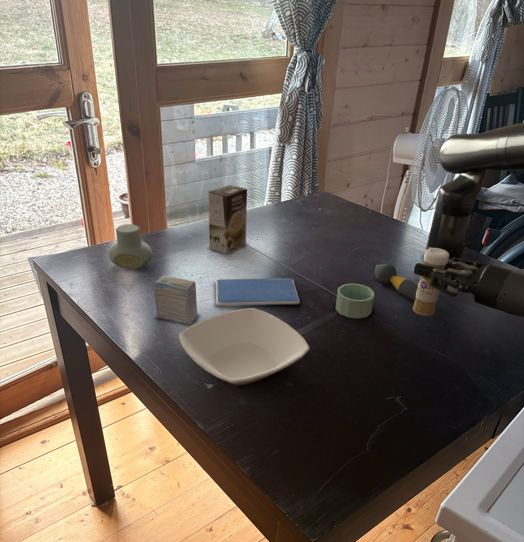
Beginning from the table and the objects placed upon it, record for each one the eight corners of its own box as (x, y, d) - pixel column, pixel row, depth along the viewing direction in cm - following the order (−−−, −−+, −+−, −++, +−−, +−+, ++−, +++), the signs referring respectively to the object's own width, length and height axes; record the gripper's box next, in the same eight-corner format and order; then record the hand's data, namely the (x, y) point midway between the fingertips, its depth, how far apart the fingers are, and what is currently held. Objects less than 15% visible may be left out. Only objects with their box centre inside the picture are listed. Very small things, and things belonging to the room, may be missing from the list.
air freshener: (155, 258, 138) (152, 222, 132) (150, 272, 131) (147, 235, 125) (114, 257, 137) (109, 221, 132) (107, 271, 131) (101, 234, 125)
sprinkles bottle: (408, 311, 107) (421, 251, 100) (418, 304, 110) (431, 245, 103) (429, 319, 105) (443, 258, 97) (438, 311, 108) (453, 251, 100)
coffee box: (226, 254, 141) (226, 197, 132) (208, 248, 144) (207, 191, 135) (246, 244, 148) (247, 188, 138) (229, 238, 150) (229, 183, 141)
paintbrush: (440, 304, 123) (445, 285, 120) (427, 310, 120) (431, 291, 117) (377, 273, 135) (380, 256, 132) (364, 278, 133) (367, 260, 130)
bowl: (167, 354, 102) (165, 332, 99) (254, 322, 113) (255, 301, 110) (228, 414, 88) (228, 391, 85) (321, 371, 99) (324, 348, 96)
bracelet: (347, 297, 124) (350, 280, 121) (377, 308, 120) (380, 291, 117) (328, 309, 119) (330, 292, 116) (359, 322, 115) (362, 304, 112)
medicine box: (197, 315, 114) (196, 281, 109) (189, 325, 111) (187, 290, 106) (166, 309, 116) (163, 274, 111) (156, 318, 113) (153, 283, 108)
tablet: (216, 308, 117) (216, 303, 117) (215, 282, 128) (215, 277, 127) (300, 306, 119) (300, 301, 118) (292, 281, 129) (292, 277, 129)
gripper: (525, 260, 97) (439, 236, 106) (499, 286, 88) (408, 257, 97) (513, 295, 101) (431, 269, 110) (487, 323, 92) (400, 292, 101)
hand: (421, 264), depth 103 cm, fingers closed on sprinkles bottle, 4 cm apart
